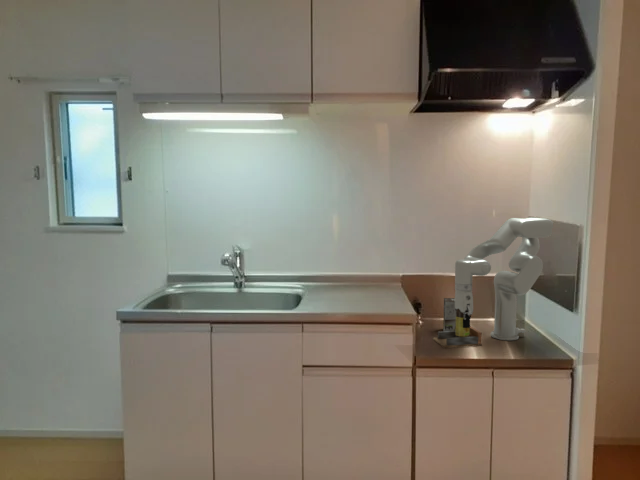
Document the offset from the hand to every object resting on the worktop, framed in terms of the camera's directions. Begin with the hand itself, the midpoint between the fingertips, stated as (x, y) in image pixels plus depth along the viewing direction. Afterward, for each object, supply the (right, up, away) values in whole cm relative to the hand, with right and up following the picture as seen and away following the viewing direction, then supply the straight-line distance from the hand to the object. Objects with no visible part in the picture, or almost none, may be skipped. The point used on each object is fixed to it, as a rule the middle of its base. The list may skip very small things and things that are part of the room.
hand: (462, 325), depth 217 cm
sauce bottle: (0, -7, +1) cm, 7 cm away
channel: (-3, -8, 0) cm, 8 cm away
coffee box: (-1, -7, +17) cm, 18 cm away
